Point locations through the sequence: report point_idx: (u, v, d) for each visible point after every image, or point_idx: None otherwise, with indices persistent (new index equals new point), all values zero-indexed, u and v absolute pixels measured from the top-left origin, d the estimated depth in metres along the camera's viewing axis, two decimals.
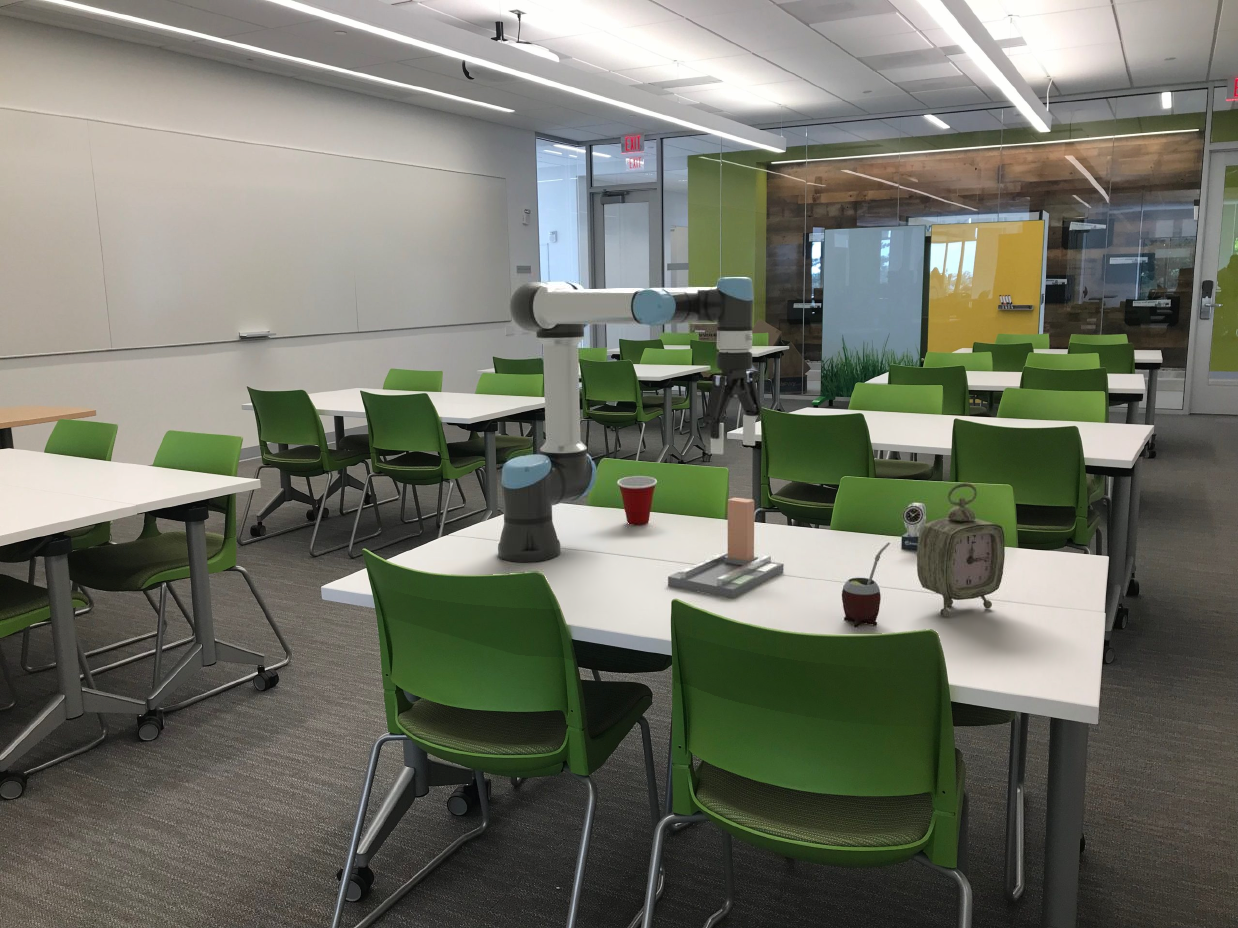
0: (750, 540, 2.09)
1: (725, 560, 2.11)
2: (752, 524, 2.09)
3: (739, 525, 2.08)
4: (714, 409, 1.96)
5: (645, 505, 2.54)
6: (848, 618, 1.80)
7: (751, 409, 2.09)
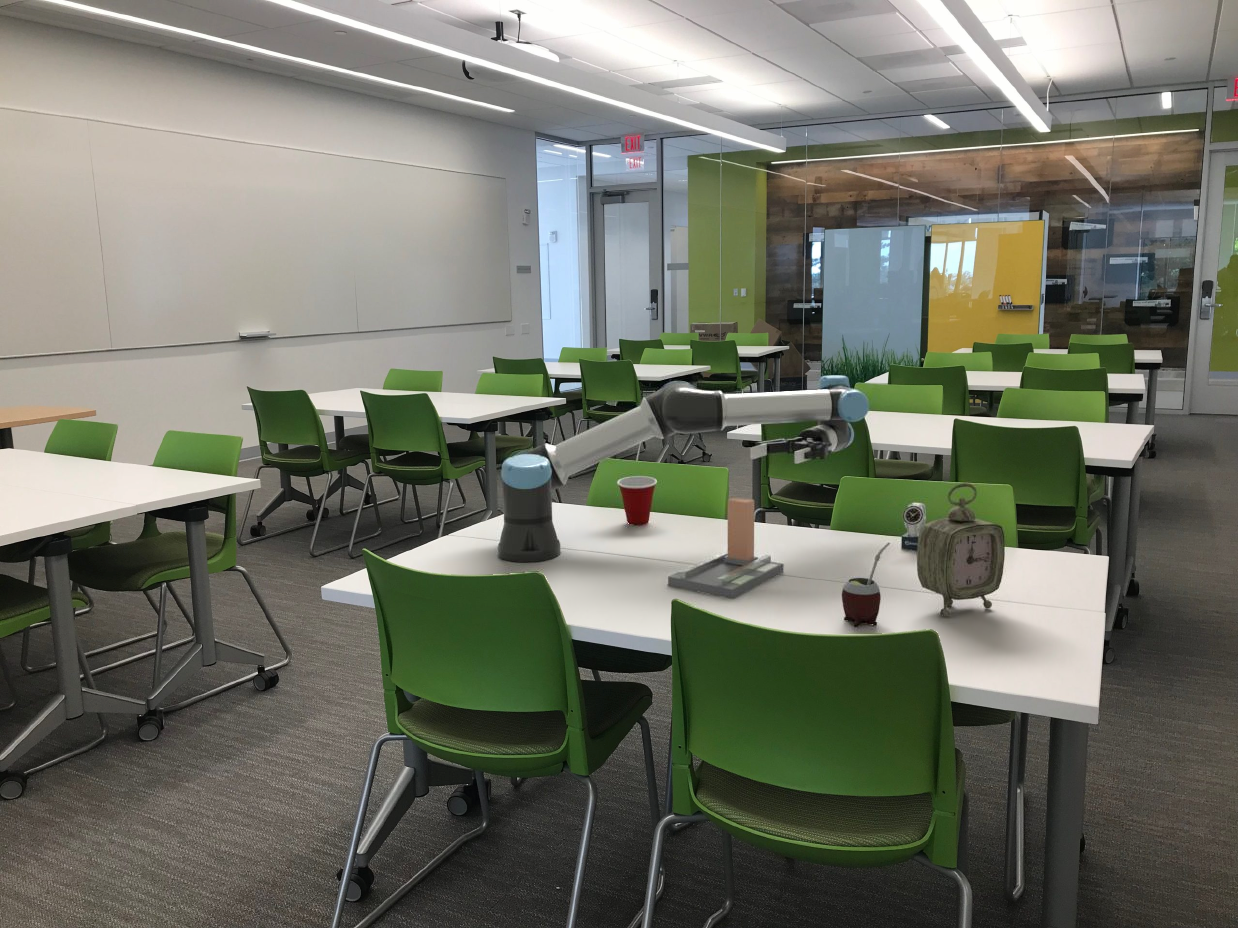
0: (750, 540, 2.09)
1: (725, 560, 2.11)
2: (752, 524, 2.09)
3: (739, 525, 2.08)
4: (825, 455, 2.22)
5: (645, 505, 2.54)
6: (848, 618, 1.80)
7: (770, 451, 2.29)
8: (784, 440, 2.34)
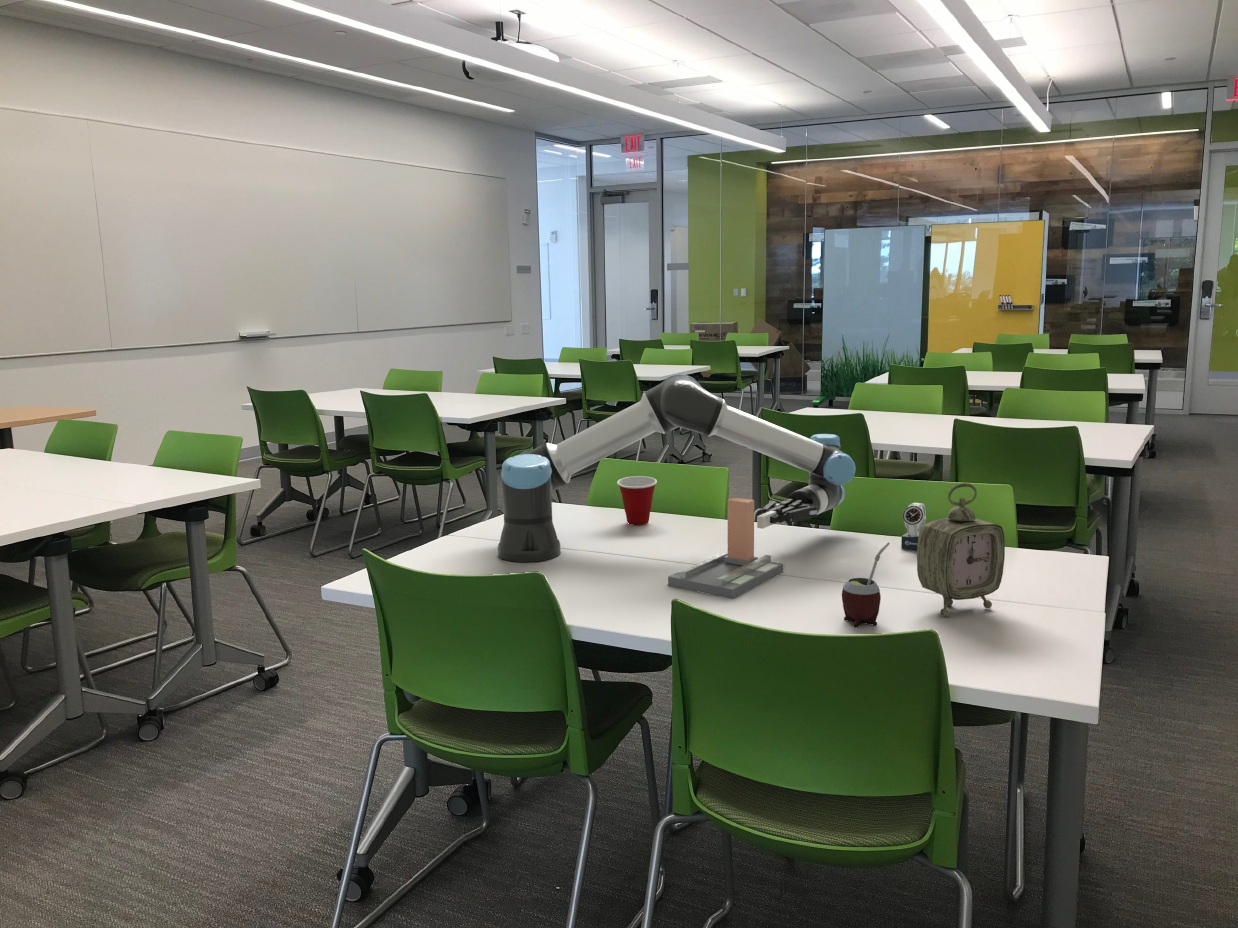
0: (750, 540, 2.09)
1: (725, 560, 2.11)
2: (752, 524, 2.09)
3: (739, 525, 2.08)
4: (795, 519, 2.21)
5: (645, 505, 2.54)
6: (848, 618, 1.80)
7: None
8: None
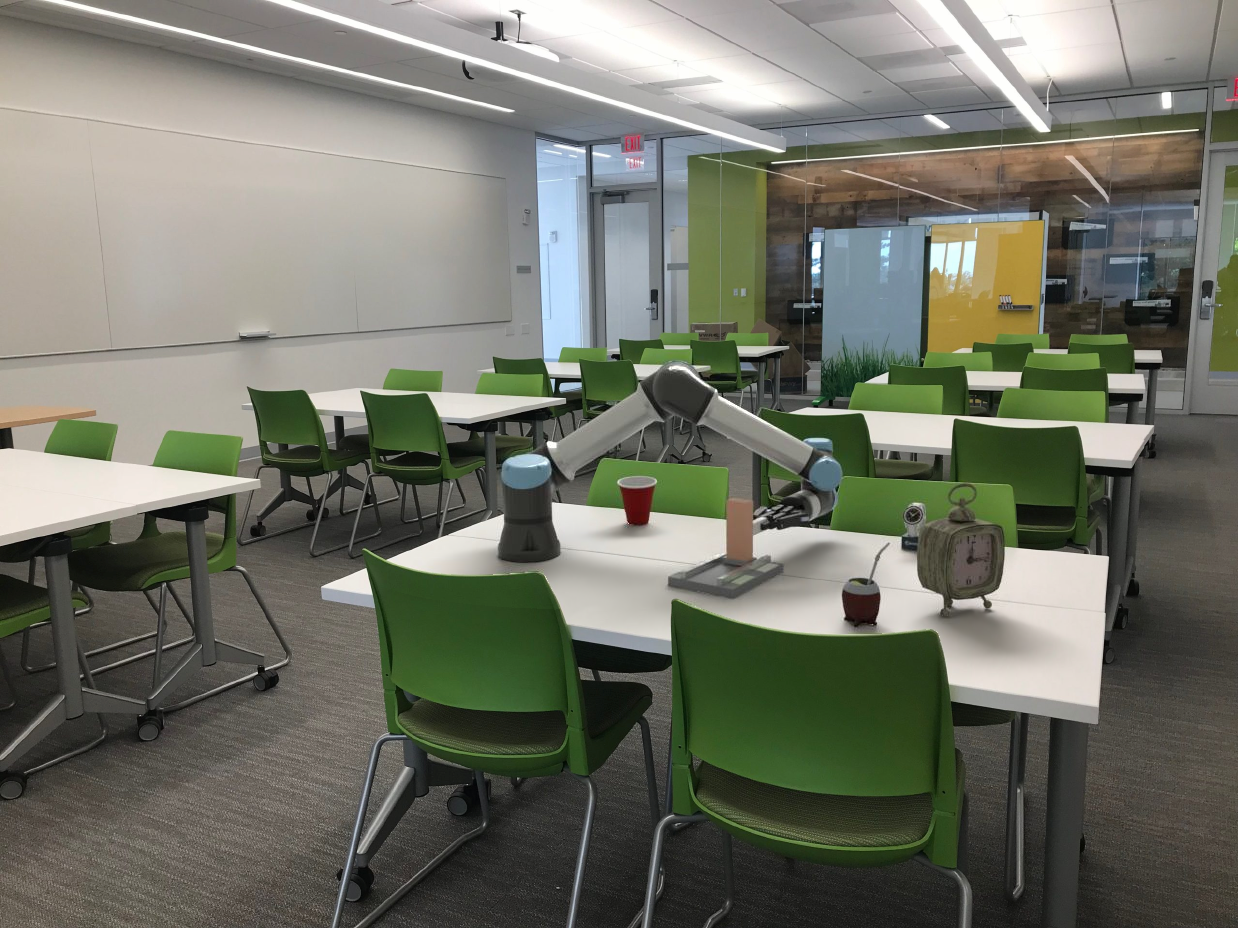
0: (749, 541, 2.08)
1: (724, 561, 2.11)
2: (751, 524, 2.08)
3: (738, 525, 2.08)
4: (786, 526, 2.15)
5: (645, 505, 2.54)
6: (848, 618, 1.80)
7: None
8: None
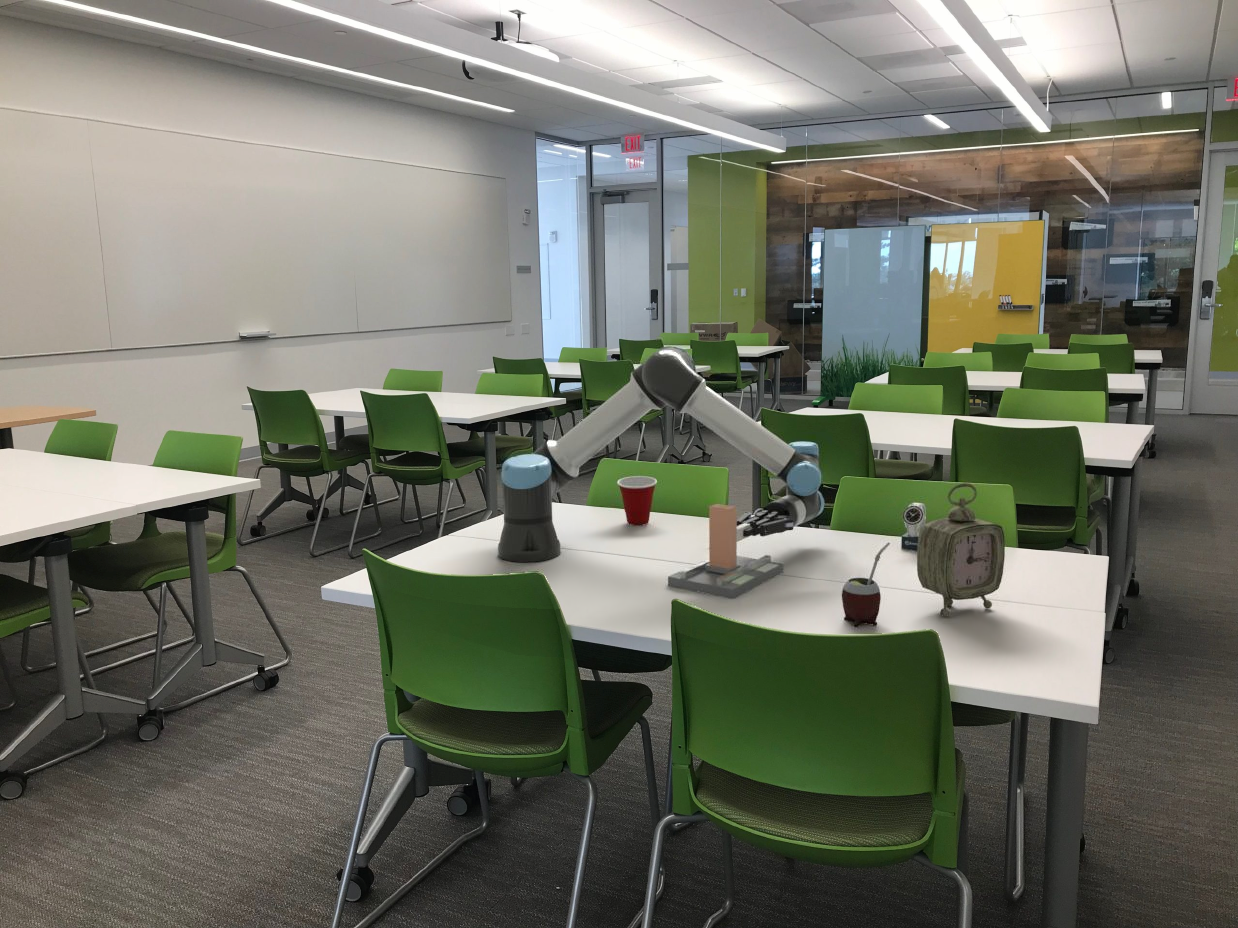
0: (732, 548, 2.03)
1: (707, 568, 2.05)
2: (734, 531, 2.03)
3: (721, 532, 2.02)
4: (770, 532, 2.10)
5: (645, 505, 2.54)
6: (848, 618, 1.80)
7: None
8: None
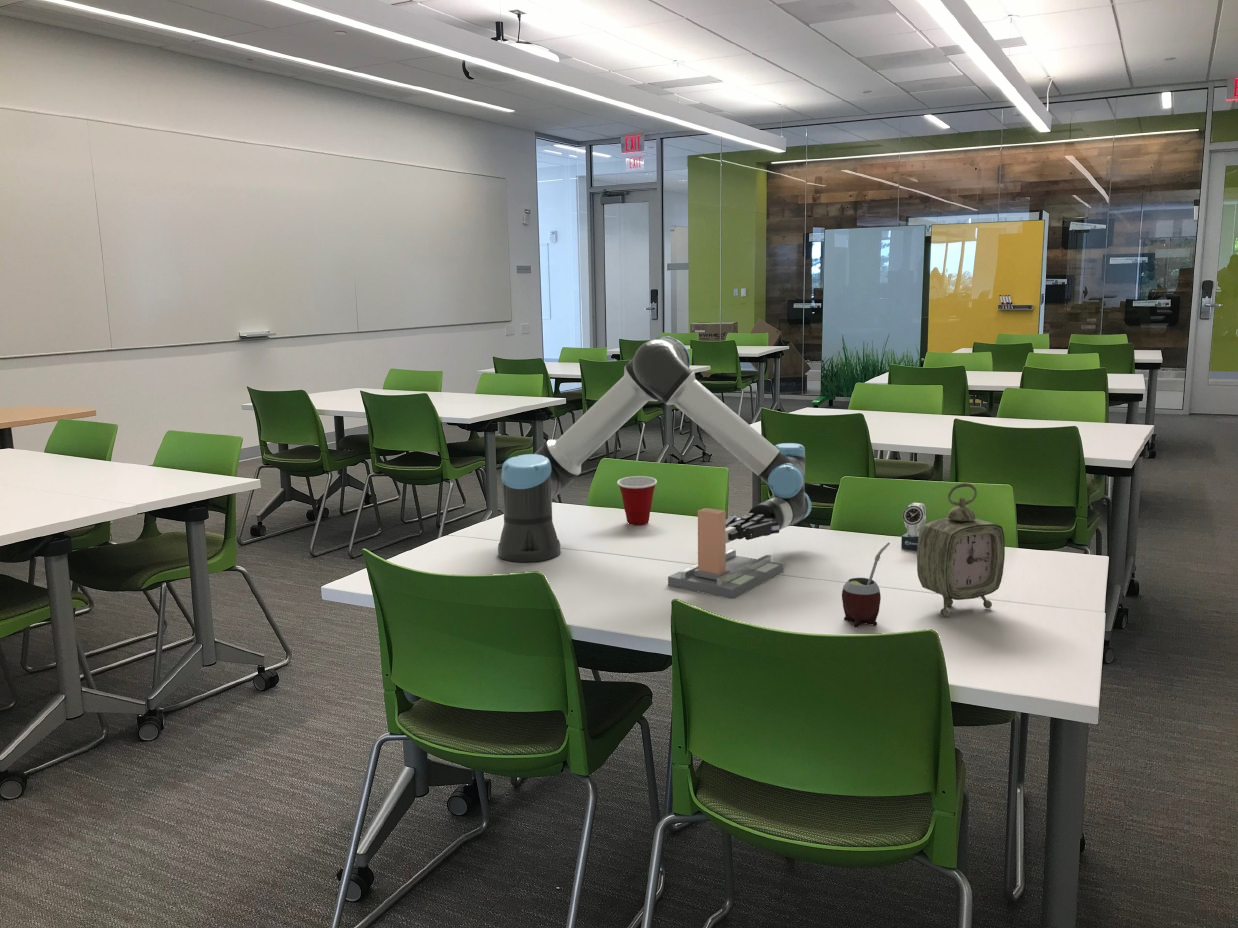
0: (721, 553, 1.99)
1: (695, 573, 2.02)
2: (723, 536, 1.99)
3: (709, 537, 1.99)
4: (755, 536, 2.07)
5: (645, 505, 2.54)
6: (848, 618, 1.80)
7: None
8: (736, 517, 2.16)
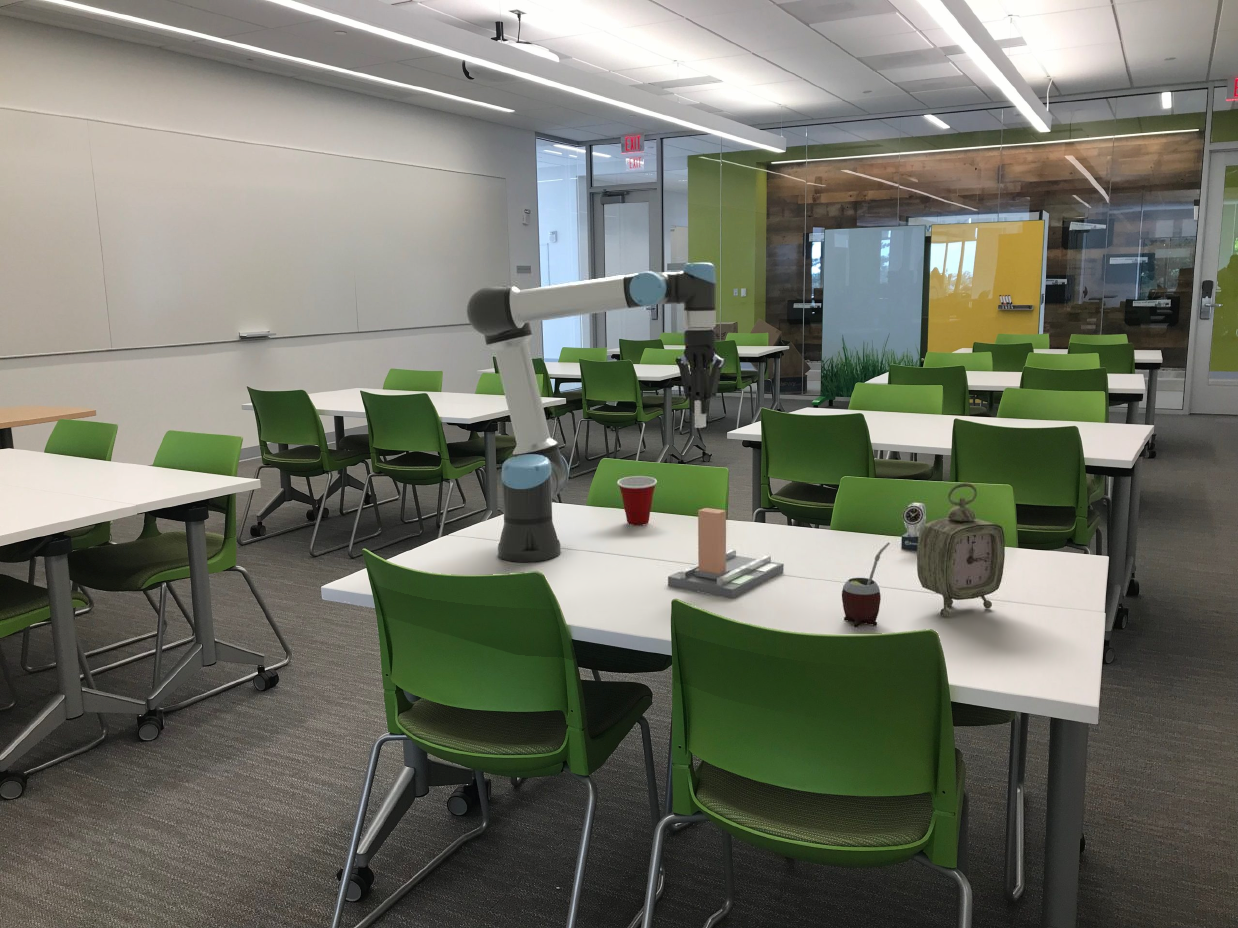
0: (721, 553, 1.99)
1: (696, 573, 2.02)
2: (724, 536, 1.99)
3: (710, 537, 1.99)
4: (716, 388, 2.27)
5: (645, 505, 2.54)
6: (848, 618, 1.80)
7: (699, 390, 2.30)
8: (683, 361, 2.29)
